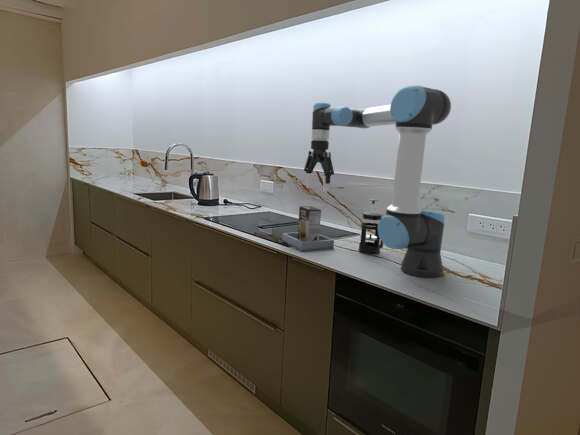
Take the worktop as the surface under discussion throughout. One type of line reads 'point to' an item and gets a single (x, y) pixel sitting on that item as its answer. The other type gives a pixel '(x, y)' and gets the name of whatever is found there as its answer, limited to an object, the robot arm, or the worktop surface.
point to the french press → (370, 246)
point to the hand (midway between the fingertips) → (317, 189)
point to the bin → (322, 244)
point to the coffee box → (309, 223)
